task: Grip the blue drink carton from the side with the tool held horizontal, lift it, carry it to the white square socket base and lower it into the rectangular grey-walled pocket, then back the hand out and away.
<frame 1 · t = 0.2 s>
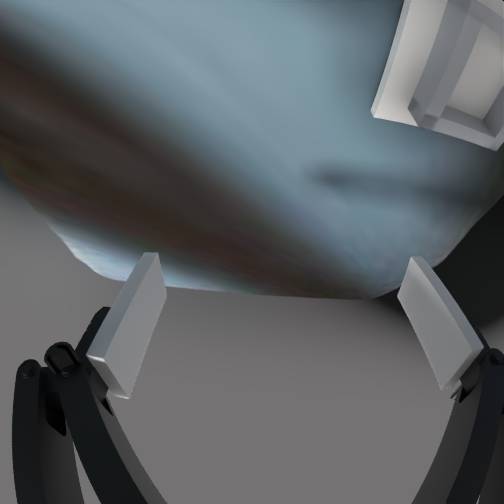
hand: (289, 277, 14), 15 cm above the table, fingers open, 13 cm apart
white square socket base: (471, 65, 13), on the table
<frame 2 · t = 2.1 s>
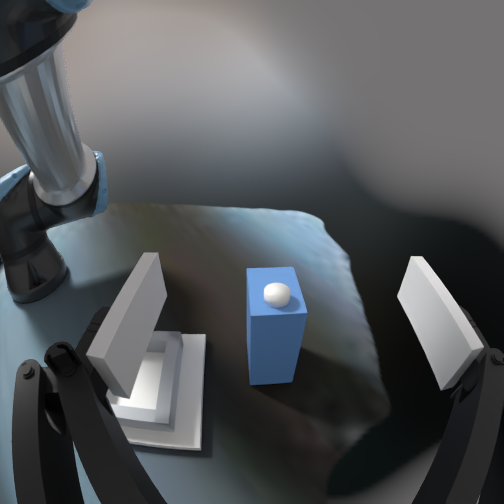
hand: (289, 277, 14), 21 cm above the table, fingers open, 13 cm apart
white square socket base: (139, 385, 29), on the table
blue drink carton: (268, 360, 33), on the table
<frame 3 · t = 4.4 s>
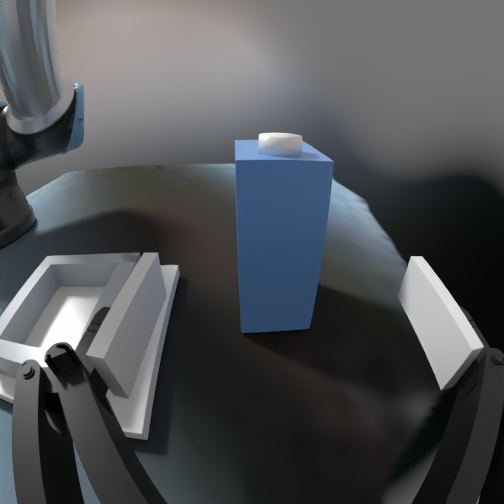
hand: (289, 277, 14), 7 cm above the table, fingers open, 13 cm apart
white square socket base: (74, 332, 18), on the table
blue drink carton: (270, 299, 22), on the table
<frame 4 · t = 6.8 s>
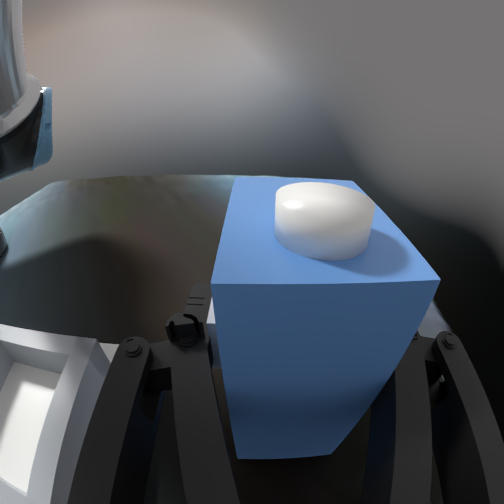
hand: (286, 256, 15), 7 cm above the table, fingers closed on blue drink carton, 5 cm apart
white square socket base: (33, 431, 10), on the table
blue drink carton: (282, 405, 14), on the table, touching gripper
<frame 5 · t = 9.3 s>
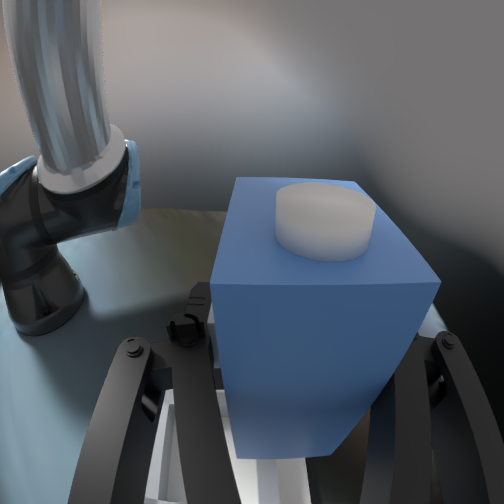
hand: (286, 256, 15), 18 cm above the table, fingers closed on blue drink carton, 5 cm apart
white square socket base: (213, 463, 19), on the table
blue drink carton: (282, 406, 14), point 11 cm above the table, touching gripper
when the fingers open (9 cm above the table, at t = 12.1 s): blue drink carton drops 1 cm, resting on white square socket base.
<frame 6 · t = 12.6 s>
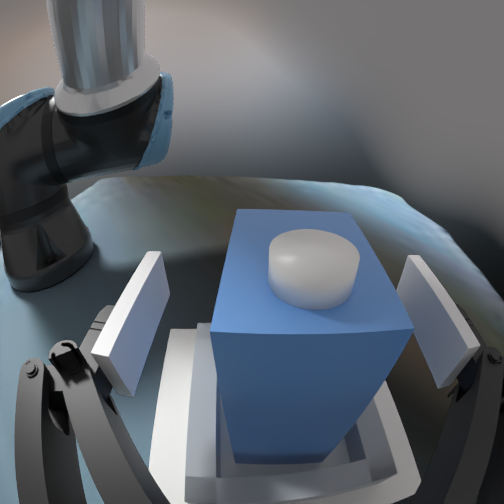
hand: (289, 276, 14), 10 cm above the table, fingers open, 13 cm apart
white square socket base: (278, 420, 16), on the table
blue drink carton: (279, 415, 15), point 1 cm above the table, touching white square socket base
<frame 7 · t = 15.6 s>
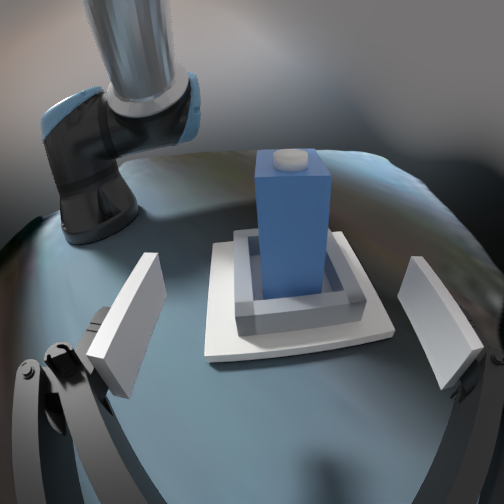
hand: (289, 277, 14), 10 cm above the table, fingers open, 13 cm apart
white square socket base: (290, 287, 28), on the table
blue drink carton: (289, 280, 27), point 1 cm above the table, touching white square socket base
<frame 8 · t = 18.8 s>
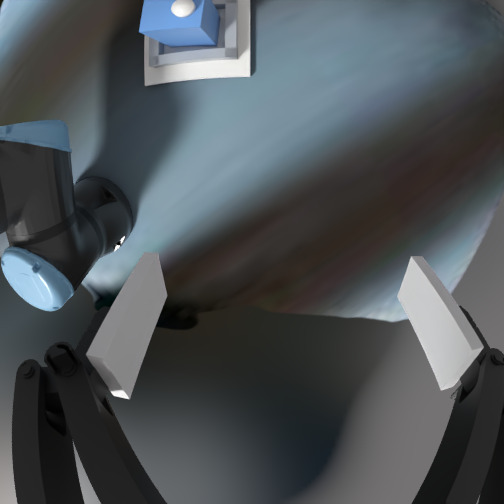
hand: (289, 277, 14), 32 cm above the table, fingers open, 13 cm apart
white square socket base: (196, 33, 31), on the table
blue drink carton: (195, 31, 30), point 1 cm above the table, touching white square socket base
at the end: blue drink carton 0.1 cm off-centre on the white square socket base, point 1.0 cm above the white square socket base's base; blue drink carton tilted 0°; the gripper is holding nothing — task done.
